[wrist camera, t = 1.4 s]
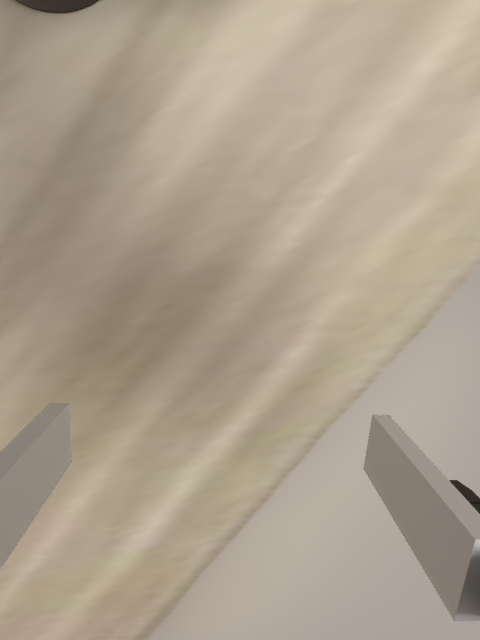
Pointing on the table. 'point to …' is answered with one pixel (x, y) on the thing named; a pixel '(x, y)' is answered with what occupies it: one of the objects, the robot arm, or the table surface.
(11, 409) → the table surface
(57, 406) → the robot arm
